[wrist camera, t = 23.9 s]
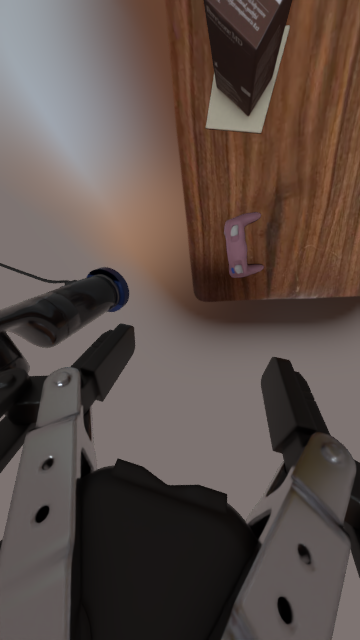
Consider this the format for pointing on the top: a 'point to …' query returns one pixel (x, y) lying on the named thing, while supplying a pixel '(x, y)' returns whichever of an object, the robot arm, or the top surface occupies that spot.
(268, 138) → the top surface
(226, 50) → the box
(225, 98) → the tile
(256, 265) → the video game controller
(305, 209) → the top surface
